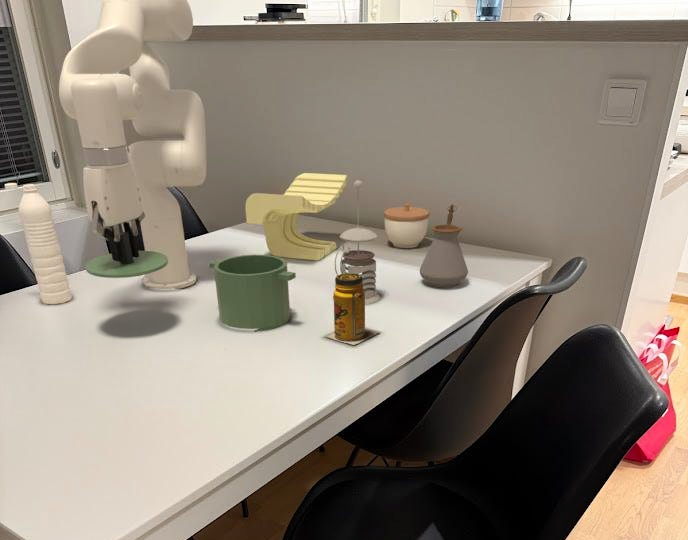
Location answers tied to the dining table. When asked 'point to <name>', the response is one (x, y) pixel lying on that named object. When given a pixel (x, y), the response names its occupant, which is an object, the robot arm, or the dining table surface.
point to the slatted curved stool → (295, 214)
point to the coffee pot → (444, 257)
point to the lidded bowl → (406, 225)
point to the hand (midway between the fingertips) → (126, 257)
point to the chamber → (253, 291)
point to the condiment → (350, 310)
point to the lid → (126, 263)
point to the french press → (360, 257)
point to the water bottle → (43, 245)
